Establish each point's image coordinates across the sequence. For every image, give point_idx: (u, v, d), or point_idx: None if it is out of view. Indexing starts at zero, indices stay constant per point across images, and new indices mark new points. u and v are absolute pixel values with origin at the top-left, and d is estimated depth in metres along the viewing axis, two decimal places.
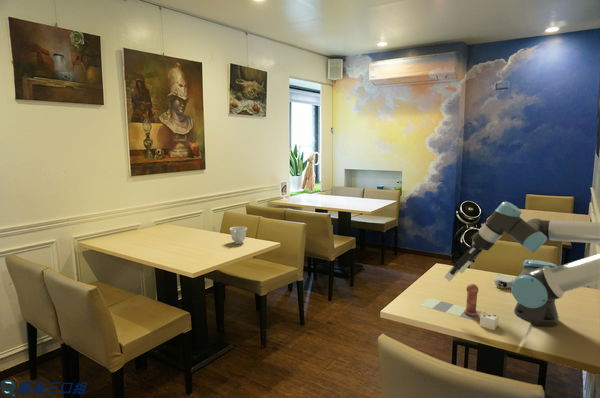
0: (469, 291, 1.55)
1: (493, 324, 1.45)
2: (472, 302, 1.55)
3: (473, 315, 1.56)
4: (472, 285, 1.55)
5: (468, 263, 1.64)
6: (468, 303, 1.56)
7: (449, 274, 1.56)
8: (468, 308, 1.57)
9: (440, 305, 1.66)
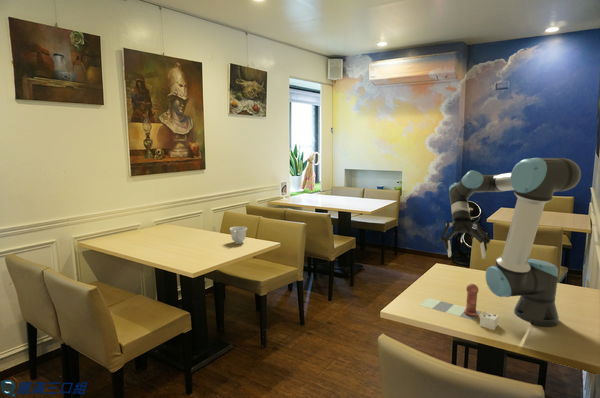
0: (469, 291, 1.55)
1: (493, 324, 1.45)
2: (472, 302, 1.55)
3: (473, 315, 1.56)
4: (472, 285, 1.55)
5: (481, 244, 1.67)
6: (468, 303, 1.56)
7: (448, 251, 1.68)
8: (468, 308, 1.57)
9: (440, 305, 1.66)
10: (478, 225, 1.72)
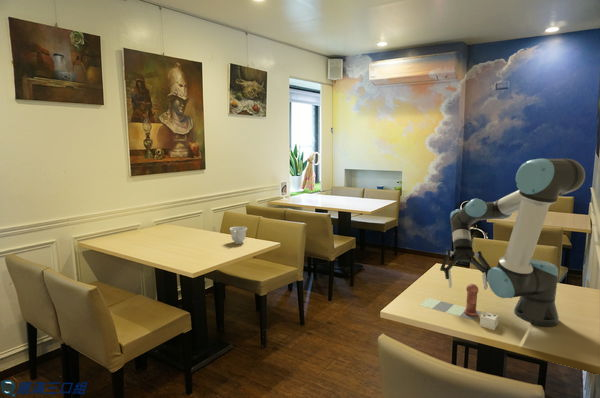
0: (469, 291, 1.55)
1: (493, 324, 1.45)
2: (472, 302, 1.55)
3: (473, 315, 1.56)
4: (472, 285, 1.55)
5: (483, 275, 1.62)
6: (468, 303, 1.56)
7: (448, 281, 1.63)
8: (468, 308, 1.57)
9: (440, 305, 1.66)
10: (480, 254, 1.67)
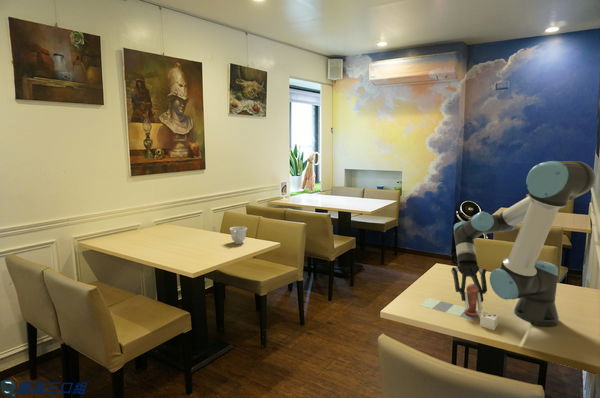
0: (469, 291, 1.55)
1: (493, 324, 1.45)
2: (472, 302, 1.55)
3: (473, 315, 1.56)
4: (472, 285, 1.55)
5: (477, 295, 1.56)
6: None
7: (465, 303, 1.56)
8: (468, 308, 1.57)
9: (440, 305, 1.66)
10: (483, 272, 1.61)
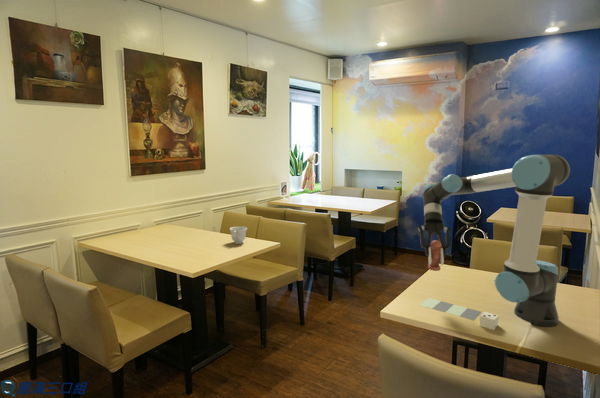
0: (432, 246, 1.63)
1: (493, 324, 1.45)
2: (435, 257, 1.63)
3: (436, 269, 1.64)
4: (435, 241, 1.63)
5: (440, 250, 1.64)
6: (431, 258, 1.64)
7: (428, 258, 1.64)
8: (431, 263, 1.65)
9: (440, 305, 1.66)
10: (448, 230, 1.69)
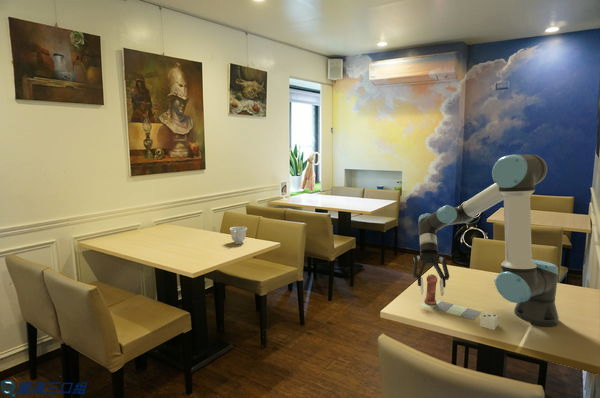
0: (428, 281, 1.66)
1: (493, 324, 1.45)
2: (432, 292, 1.66)
3: (432, 304, 1.66)
4: (431, 275, 1.66)
5: (440, 281, 1.66)
6: (428, 292, 1.67)
7: None
8: (428, 297, 1.67)
9: (440, 305, 1.66)
10: (444, 259, 1.71)
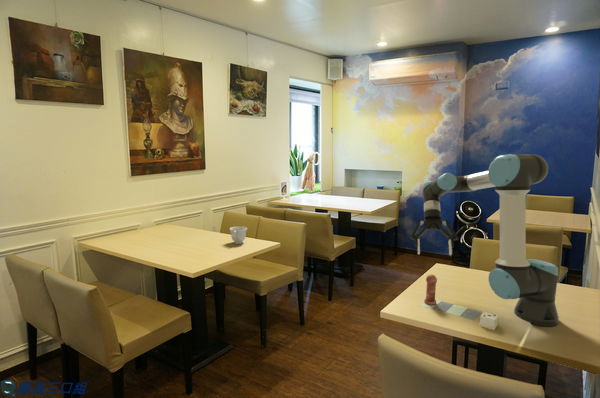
0: (428, 281, 1.66)
1: (493, 324, 1.45)
2: (431, 292, 1.66)
3: (432, 304, 1.66)
4: (431, 276, 1.66)
5: (449, 242, 1.78)
6: (427, 293, 1.67)
7: None
8: (427, 297, 1.67)
9: (440, 305, 1.66)
10: (447, 223, 1.83)
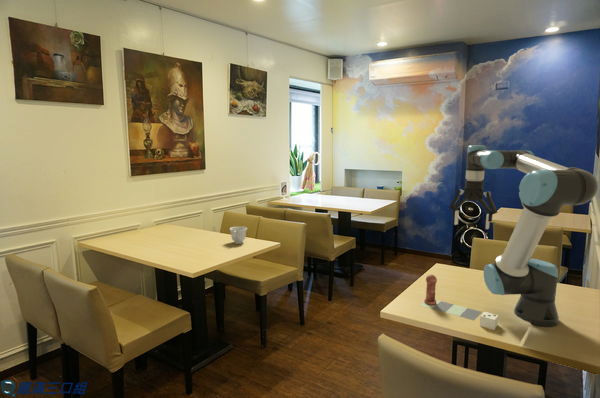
0: (428, 281, 1.66)
1: (493, 324, 1.45)
2: (431, 292, 1.66)
3: (432, 304, 1.66)
4: (431, 276, 1.66)
5: None
6: (427, 293, 1.67)
7: None
8: (427, 297, 1.67)
9: (440, 305, 1.66)
10: (487, 195, 1.73)
